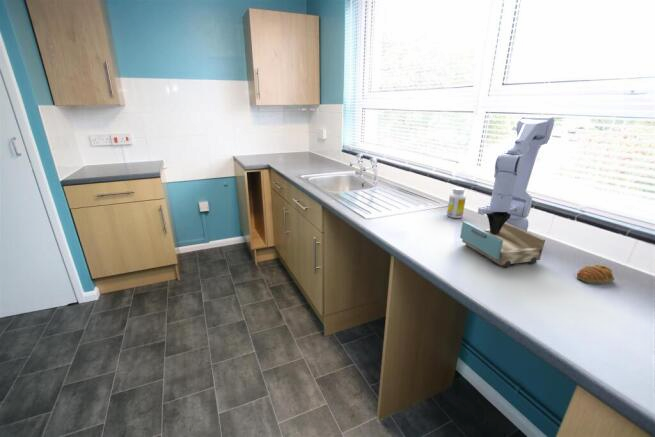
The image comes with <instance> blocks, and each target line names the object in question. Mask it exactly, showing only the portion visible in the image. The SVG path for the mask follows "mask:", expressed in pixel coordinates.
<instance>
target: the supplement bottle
mask: <svg viewBox="0 0 655 437" xmlns="http://www.w3.org/2000/svg"><path fill="white" fill-rule="evenodd" d="M452 191H453V192H452V193H450V194H449V199H448V205H447V211H446V213H447V214H446V215H447V216H448V217H450V218H452V219H453V218H454V219H460V218H463V215H464V211H465V210H464V209H465V204H466V198H467V197H466V195H465V188H464V187H458V186H457V187H453V188H452Z"/></svg>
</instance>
